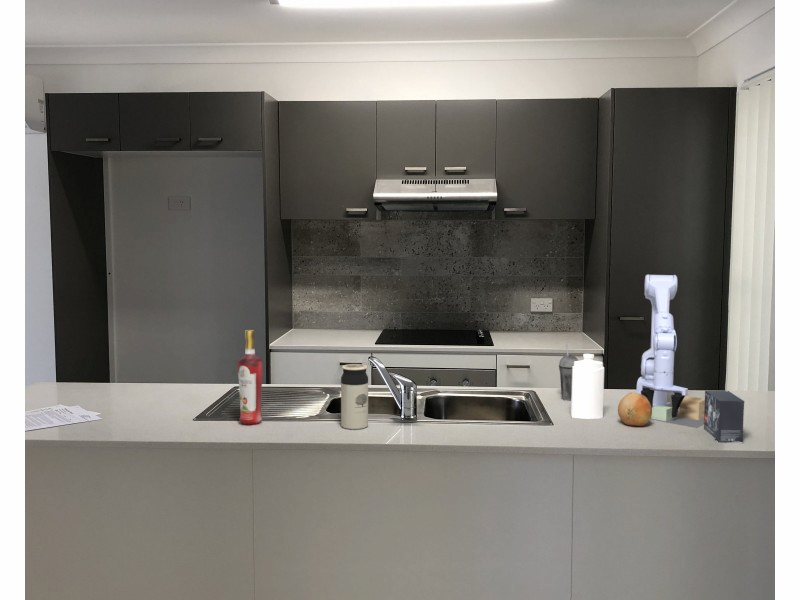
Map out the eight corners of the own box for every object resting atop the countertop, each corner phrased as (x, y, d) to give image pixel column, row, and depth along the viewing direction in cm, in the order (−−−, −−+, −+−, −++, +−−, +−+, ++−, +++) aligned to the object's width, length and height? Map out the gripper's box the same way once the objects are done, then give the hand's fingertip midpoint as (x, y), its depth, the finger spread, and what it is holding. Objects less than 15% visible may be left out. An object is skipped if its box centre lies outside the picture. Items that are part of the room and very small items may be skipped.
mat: (647, 420, 220) (647, 418, 220) (669, 410, 233) (669, 409, 232) (696, 429, 210) (697, 427, 210) (717, 418, 222) (717, 417, 222)
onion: (616, 428, 210) (617, 395, 209) (618, 420, 219) (619, 388, 218) (651, 432, 207) (652, 398, 206) (651, 423, 216) (652, 391, 215)
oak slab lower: (678, 416, 223) (679, 407, 223) (686, 413, 227) (686, 404, 227) (698, 420, 219) (698, 411, 219) (705, 416, 223) (705, 407, 223)
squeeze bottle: (569, 415, 225) (572, 419, 220) (571, 352, 223) (574, 355, 218) (600, 416, 225) (604, 420, 220) (602, 353, 223) (606, 356, 218)
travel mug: (337, 424, 213) (337, 364, 211) (362, 421, 216) (362, 363, 214) (346, 431, 206) (346, 369, 204) (372, 428, 209) (372, 367, 207)
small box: (702, 429, 210) (704, 389, 209) (726, 430, 209) (728, 390, 208) (717, 442, 197) (719, 399, 196) (743, 443, 196) (745, 400, 195)
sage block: (651, 418, 220) (652, 407, 220) (657, 415, 224) (658, 405, 223) (666, 421, 217) (666, 409, 217) (671, 418, 221) (672, 407, 220)
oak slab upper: (679, 407, 223) (679, 399, 222) (686, 404, 227) (687, 396, 227) (698, 411, 219) (699, 402, 218) (705, 407, 223) (706, 399, 223)
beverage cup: (581, 401, 244) (583, 344, 242) (560, 401, 244) (561, 343, 242) (576, 397, 251) (578, 340, 250) (555, 396, 251) (557, 340, 250)
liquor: (233, 424, 212) (232, 331, 209) (247, 419, 218) (246, 328, 216) (254, 427, 209) (253, 332, 206) (268, 421, 216) (267, 329, 213)
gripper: (635, 369, 221) (633, 412, 222) (682, 376, 211) (680, 421, 213) (644, 367, 226) (643, 409, 228) (691, 373, 217) (689, 416, 218)
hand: (661, 414), depth 220 cm, fingers open, 7 cm apart
